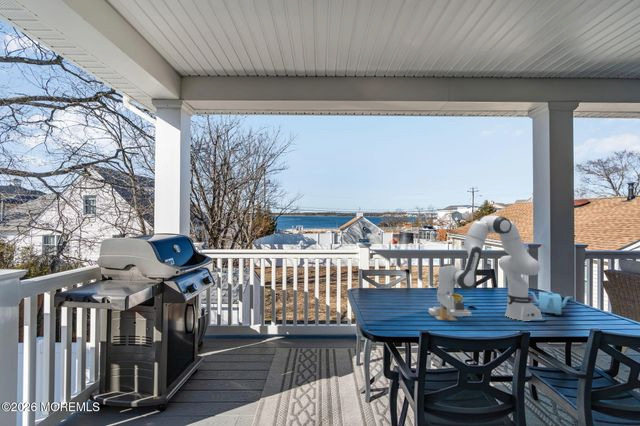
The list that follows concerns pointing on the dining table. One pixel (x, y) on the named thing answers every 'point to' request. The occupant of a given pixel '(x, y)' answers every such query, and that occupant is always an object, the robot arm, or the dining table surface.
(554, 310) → the teakettle
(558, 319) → the dining table surface
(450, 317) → the cork mat
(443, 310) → the orange charger
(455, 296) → the plant pot
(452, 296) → the robot arm
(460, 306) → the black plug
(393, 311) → the dining table surface
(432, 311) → the power strip
